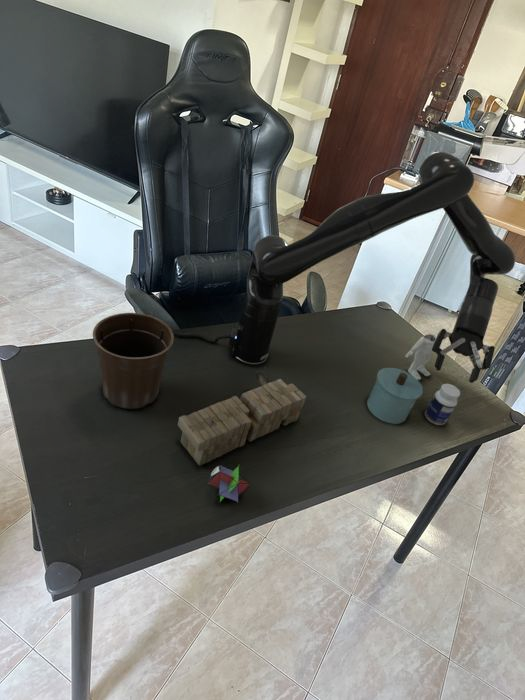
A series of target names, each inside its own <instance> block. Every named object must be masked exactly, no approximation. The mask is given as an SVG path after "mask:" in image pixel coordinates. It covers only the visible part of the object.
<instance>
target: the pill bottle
mask: <svg viewBox="0 0 525 700" xmlns="http://www.w3.org/2000/svg"><path fill="white" fill-rule="evenodd" d="M460 396H461V391H460V389H459V388H458V387H457V386H455V385H453V384H451V383H444V384H442V385H441V387H440V388H439V390H437V391H436V392H435V393H434V395H433V397H432V398H431V400H430V402H429V403H428V406H427V407H426V409H425V411H424V416H425V418H426V419H427V420H428V422H429V423H431V424H433V425H436V426H443V425H445V424H446V423H447V422H448V420H449V419H450V416H451V415H452V413H453V412H454V410H455V408H456V406H457V405H458V399H459V397H460Z"/></svg>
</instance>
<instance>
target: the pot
mask: <svg viewBox="0 0 525 700" xmlns="http://www.w3.org/2000/svg"><path fill="white" fill-rule="evenodd" d="M423 391H424V389H423V386H422V384H421V382H420V380H417V379H416V378H415V377H413V376H412V375H411V374H410V373H409V372H408V371H405V370H403V369H399V368H395V367H384V368H382V369H380V370H379V371H378V372H377V374H376V381H375V383H374V386H373V388H372V390H371V392H370V394H369V396H368V398H367V401H366V405H367V408H368V410H369V412H370V413H371V414H372V415H373V416H374V417H375V418H377V419H378V420H380V421H382V422H384V423H387V424H392V425H398V424H399V425H400V424H402V423H404V422H405V421H406V420H407V418H408V417H409V414H410V412H411V411H412V409H413V408H414V405H415V403H416V402H417V400H418V399H420V398H421V397H422V396H423Z"/></svg>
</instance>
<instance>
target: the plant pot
mask: <svg viewBox="0 0 525 700" xmlns="http://www.w3.org/2000/svg"><path fill="white" fill-rule="evenodd" d="M164 322H165V321H163V320H162V319H160V318H159V317H155V316H152V315H151V314H145V313H139V312H121V313H116V314H111V315H109V316H107V317H105V318H103V319H101V320H100V321H98V322H97V323H96V324H95V326H94V328H93V329H92V339H93V342H94V344H95V345H96V346H95V348H96V354H97V355H98V358H99V366H100V376H101V384H102V392H103V396H104V398H105V399H107V400H108V402H109V403H110V404H111V405H113V406H116V407H118V408H121V409H127V410H135V409H142V408H144V407H146V405H149V404H152V403H153V402H154V401H155V400H156V399H157V397H158V395H159V391H160V386H161V381H162V377H163V376H162V375H163V373H164V368H165V363H166V360H167V358H168V356H169V353H170V349H171V348H172V346H173V344H174V339H175V338H174V337H175V335H174V334H173V332H172V330H171V329H170V327H171V326H170V325H169V324H168V325H169V326H170V327H169V326H168V325H167V323H166V322H165V323H164Z"/></svg>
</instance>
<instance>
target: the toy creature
mask: <svg viewBox="0 0 525 700" xmlns="http://www.w3.org/2000/svg"><path fill="white" fill-rule="evenodd" d="M436 338H437V335H436V334H424V335H423V336H421V337H419V339H418V340H417V341H416V343H415V344H414V345H412V347H411V348H410V350H409V351H408V352H407V353H406V354H405V358H406V359H409V356H412V355H414V358H413V361H412V362H411V365H410V367H408V370H407V373H409V374H411V375H412V376H413V377H415V378H416V379H417V380H418V381H420V380H422V377H421V375H420V373H421V374H422V375H423V376H425V377H430V376H432V374H431V373H430V372H429V371H428V370H427V369H426V367H425V366H426V365H427V364H428V363H429V361H430V359H431V357H432V356H433V354H434V353H435V352H433V351H432V347H433V345H434V343H435V340H436ZM419 372H420V373H419Z"/></svg>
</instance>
